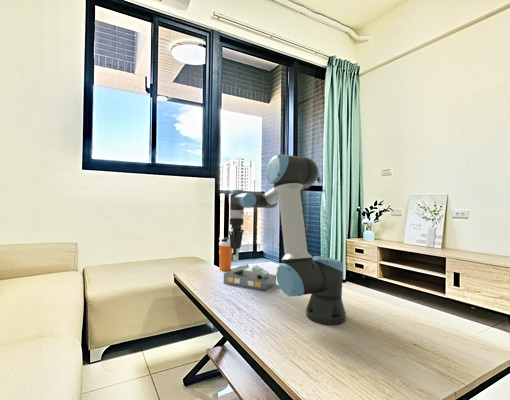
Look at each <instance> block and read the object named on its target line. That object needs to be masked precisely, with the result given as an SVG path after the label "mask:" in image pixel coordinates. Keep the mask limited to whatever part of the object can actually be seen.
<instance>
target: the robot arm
mask: <svg viewBox="0 0 510 400" xmlns="http://www.w3.org/2000/svg"><path fill="white" fill-rule="evenodd" d="M319 172H320V171H319V168H318V164H317V163H316V162H315V160H313V159H311V158H309V157H303V156H296V155H290V154H289V155H288V154H276V155H273V157H272V158H271V159H270V160H269V162H268V165H267V168H266V179H267V181H268V182H269V183H270V184H272V185H273V188H271V189H269V190H267V191H266V192H265V193H254V192H253V193H251V192H245V191H244V190H243V189H232V190H230V196H229V197H230V200H229V204H230V208H229V217H230V218H229V225H230V226H231V227H230V230H228V236H229V237H228V238H230V239H229V240H230V247H231V249H232V261H234V262H238V261H239V251H240V250H239V249H241V247H242V240H243V233H244V229H242V226H243V225H244V214H245V213H244V212H245V211H244V210H245V208H246V209H248V208H253V209H255V208H259V209H262V208H263V209H264V208H265V209H274V208H276V207H277V205H278V203H279V211H280V212H279V213H280V221H281V231H282V241H283V249H284V251H283V252H284V255H283V257H281V264H279V265H278V267H277V268H276V269H277V270H276V272H275V273H276V274H275V275H276V283H277V284H278V287H279V288H280V290H281V291H282V292H283V294H285V295H286V296H288V297H302V296H306V295H310V297H309V300H308V303H307V305H306V308H305V309H306V310H305V315H306V317H307V318H308V319H309V320H310V321H313V322H315V323H317V324H321V325H327V326H329V325H330V326H331V325H332V326H334V325H335V326H337V325H341V324H344V323H345V322H346V321H347V319H346V318H347V313H346V309H345V306H344V303H343V299H342V295H343V276H344V275H343V273H344V269H343V263H342V261H340V259H336V258H331V257H327V256H320V255H315V256H314V255H313V256H312V255H311V254H310V253H309V252H308V246H307V239H306V238H307V237H306V230H305V221H304V214H303V206H302V205H303V204H302V197H301V195H302V194H301V191H302V190H306V189H308V188H310V187H311V186H312V185H314V184H315V183H316V182H317V180H318V178H319V176H320V175H319Z"/></svg>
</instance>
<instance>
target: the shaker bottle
mask: <svg viewBox="0 0 510 400" xmlns="http://www.w3.org/2000/svg"><path fill="white" fill-rule="evenodd" d="M218 246H219V247H218V248H219V249H218V250H219V251H218V252H219V255H218V256H219V270H220V271H222V272H229V271H232V260H233V249H231V247H230V237H223V238H221V240H220V241H219V242H218Z"/></svg>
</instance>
